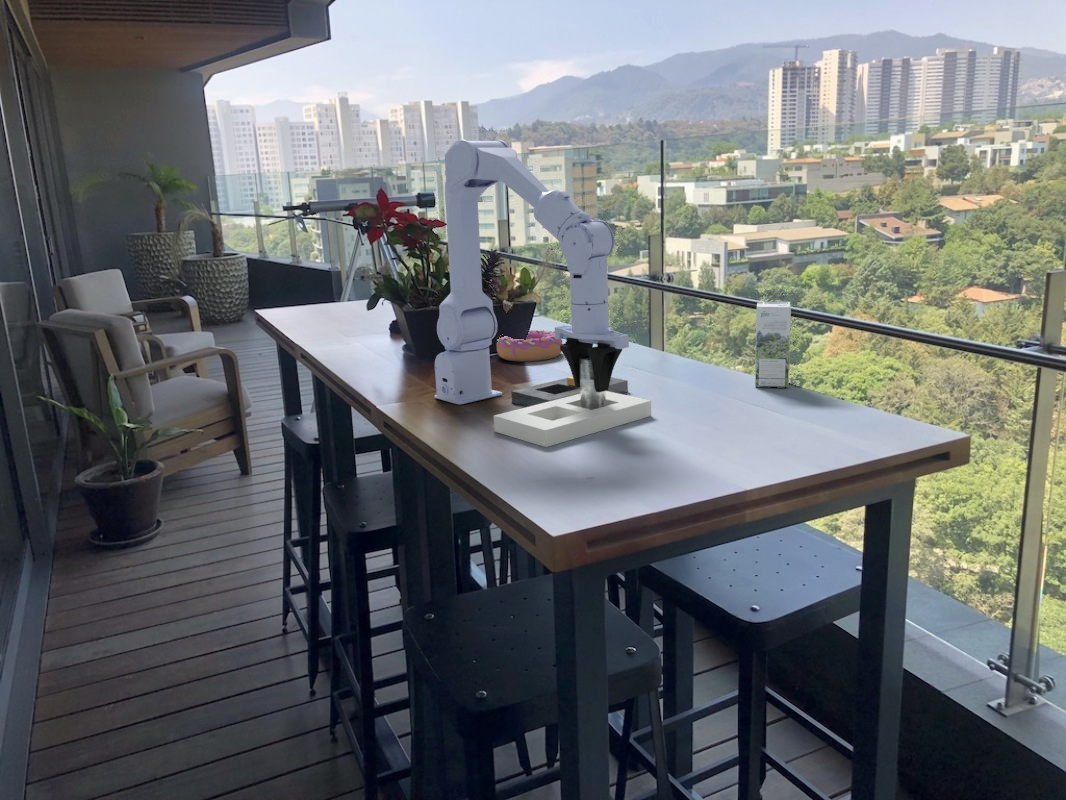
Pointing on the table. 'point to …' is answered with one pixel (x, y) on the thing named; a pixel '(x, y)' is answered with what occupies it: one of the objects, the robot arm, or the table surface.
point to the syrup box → (772, 344)
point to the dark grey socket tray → (558, 391)
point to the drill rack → (569, 418)
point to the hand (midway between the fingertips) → (591, 388)
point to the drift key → (570, 381)
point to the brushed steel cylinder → (589, 386)
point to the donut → (530, 347)
